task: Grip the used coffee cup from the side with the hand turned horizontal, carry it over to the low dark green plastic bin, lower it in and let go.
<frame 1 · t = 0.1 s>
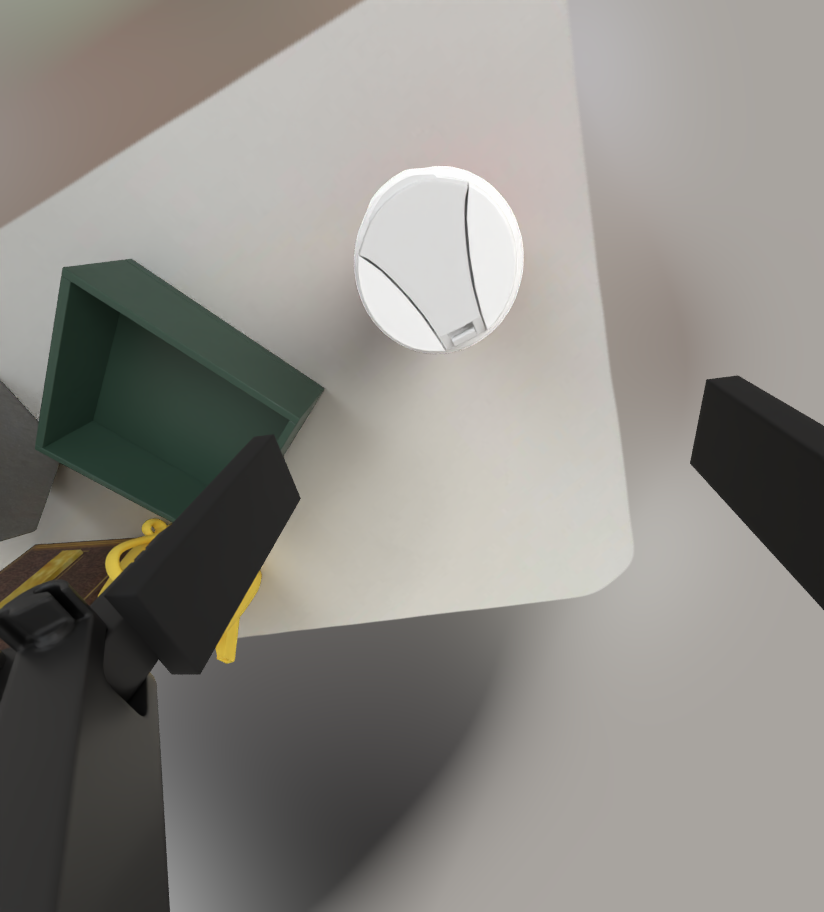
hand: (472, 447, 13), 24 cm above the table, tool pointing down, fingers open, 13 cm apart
coffee cup: (447, 249, 31), on the table
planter: (14, 426, 45), on the table
book: (95, 556, 56), on the table
teapot: (213, 559, 53), on the table
bin: (200, 404, 41), on the table
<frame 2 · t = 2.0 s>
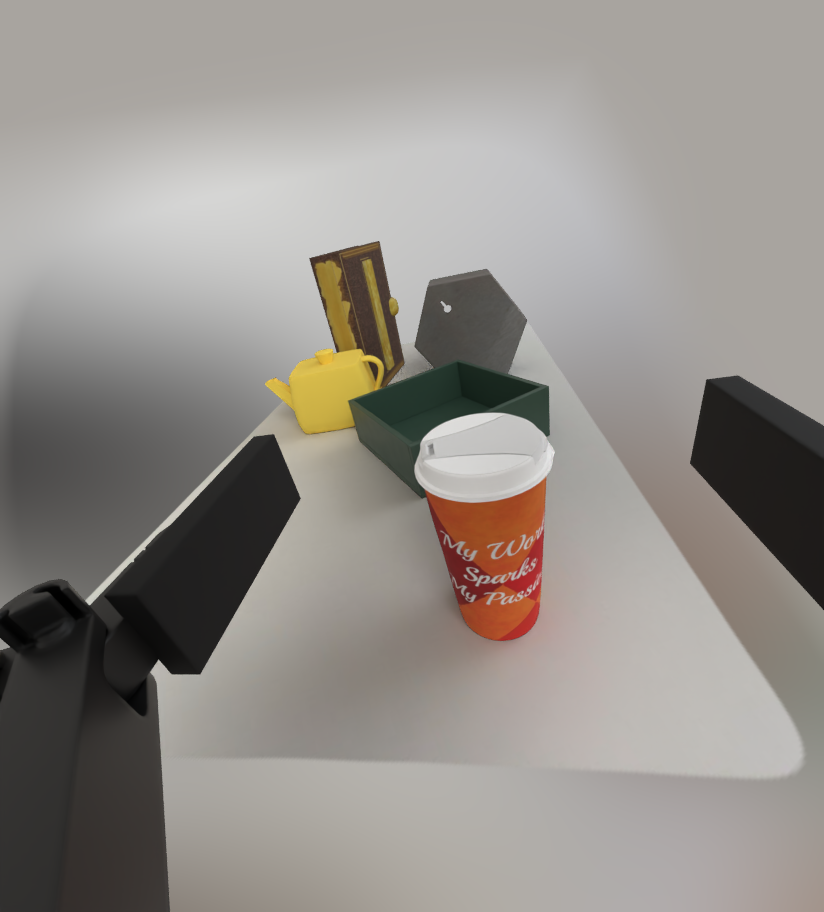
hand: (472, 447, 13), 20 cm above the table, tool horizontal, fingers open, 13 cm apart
coffee cup: (500, 607, 31), on the table
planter: (474, 375, 75), on the table
book: (380, 378, 84), on the table
teapot: (338, 417, 70), on the table
bin: (446, 438, 55), on the table
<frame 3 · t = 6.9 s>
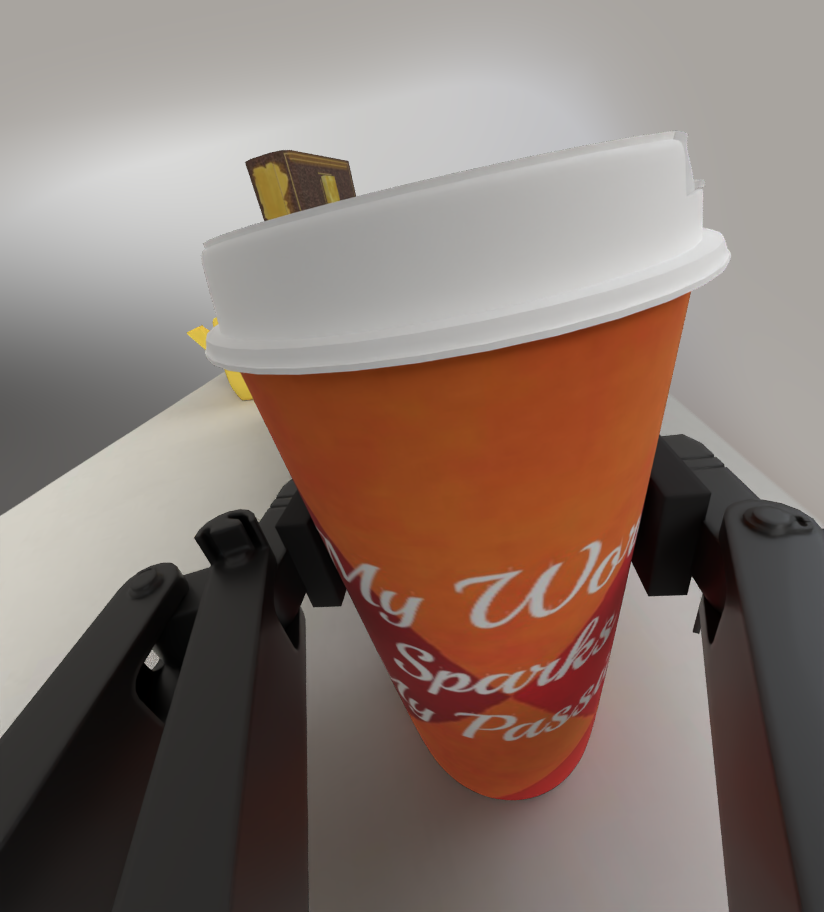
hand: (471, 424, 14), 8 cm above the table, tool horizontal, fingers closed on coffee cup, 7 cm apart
coffee cup: (501, 698, 14), on the table, touching gripper
book: (352, 340, 68), on the table
teapot: (289, 381, 53), on the table
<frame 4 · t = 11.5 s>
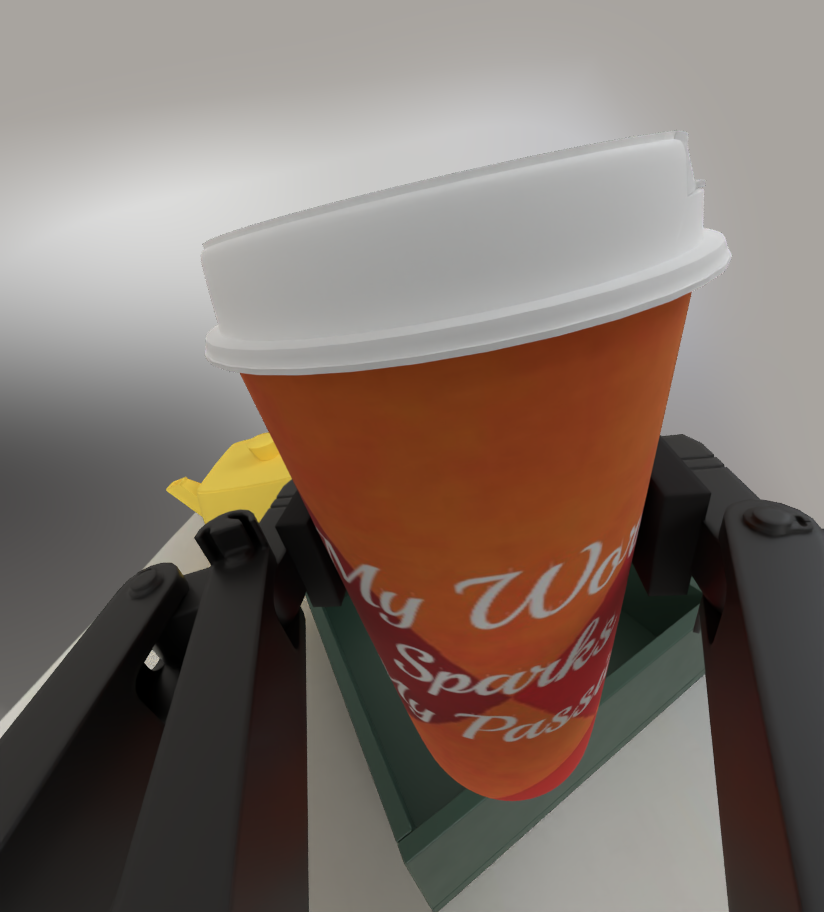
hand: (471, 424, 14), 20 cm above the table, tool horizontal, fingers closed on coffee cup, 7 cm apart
coffee cup: (501, 698, 14), point 11 cm above the table, touching gripper
teapot: (294, 533, 43), on the table
bin: (480, 638, 28), on the table
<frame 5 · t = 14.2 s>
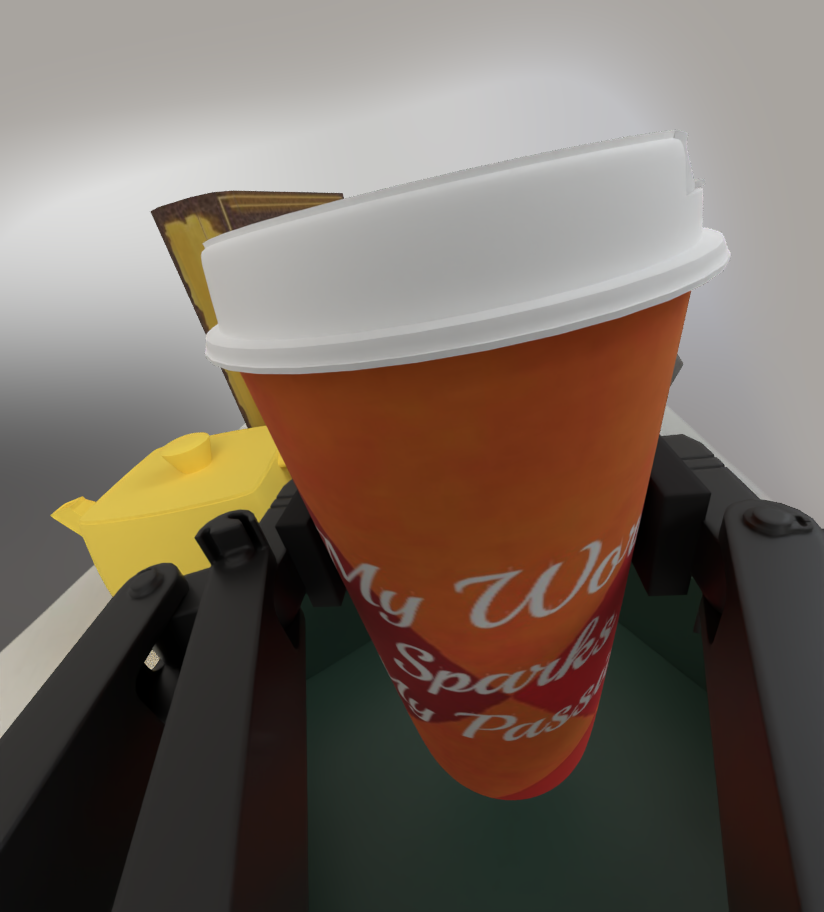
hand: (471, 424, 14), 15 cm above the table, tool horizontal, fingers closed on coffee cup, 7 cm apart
coffee cup: (501, 698, 14), point 6 cm above the table, touching gripper
book: (350, 452, 46), on the table
teapot: (242, 571, 32), on the table
bin: (512, 774, 17), on the table
when the fingers open (9 cm above the table, at t = 16.3 s): coffee cup stays where it is, resting on bin.
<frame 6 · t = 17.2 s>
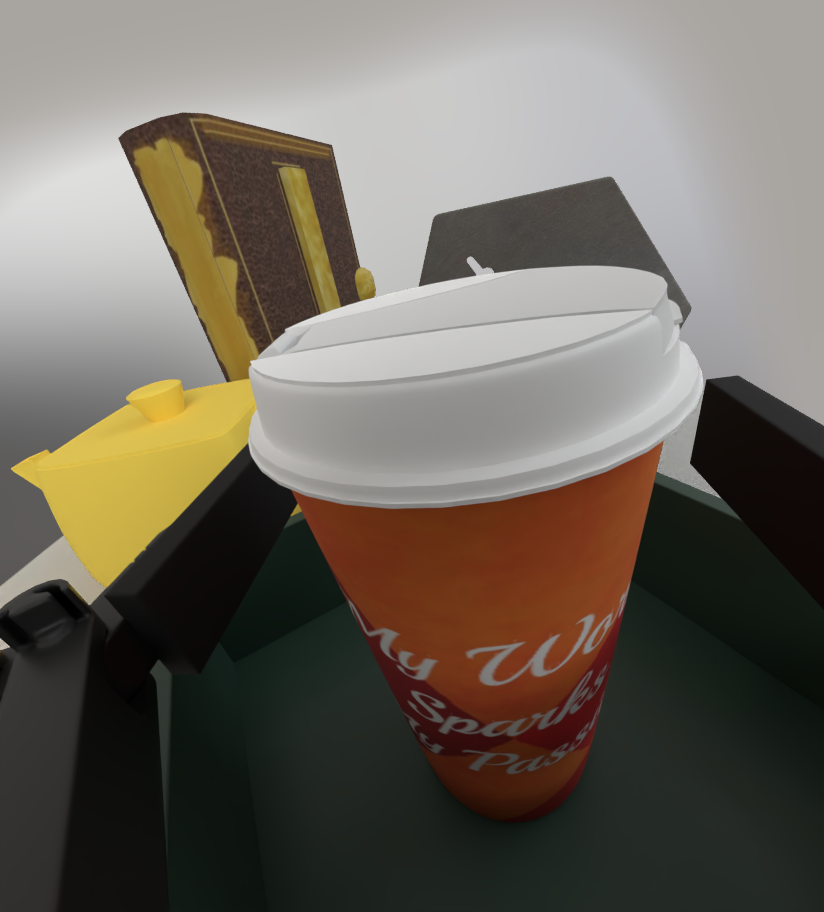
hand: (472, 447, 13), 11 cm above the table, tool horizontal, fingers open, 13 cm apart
coffee cup: (503, 722, 15), point 1 cm above the table, touching bin
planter: (531, 430, 35), on the table
book: (340, 423, 44), on the table
teapot: (221, 535, 30), on the table
bin: (504, 730, 15), on the table
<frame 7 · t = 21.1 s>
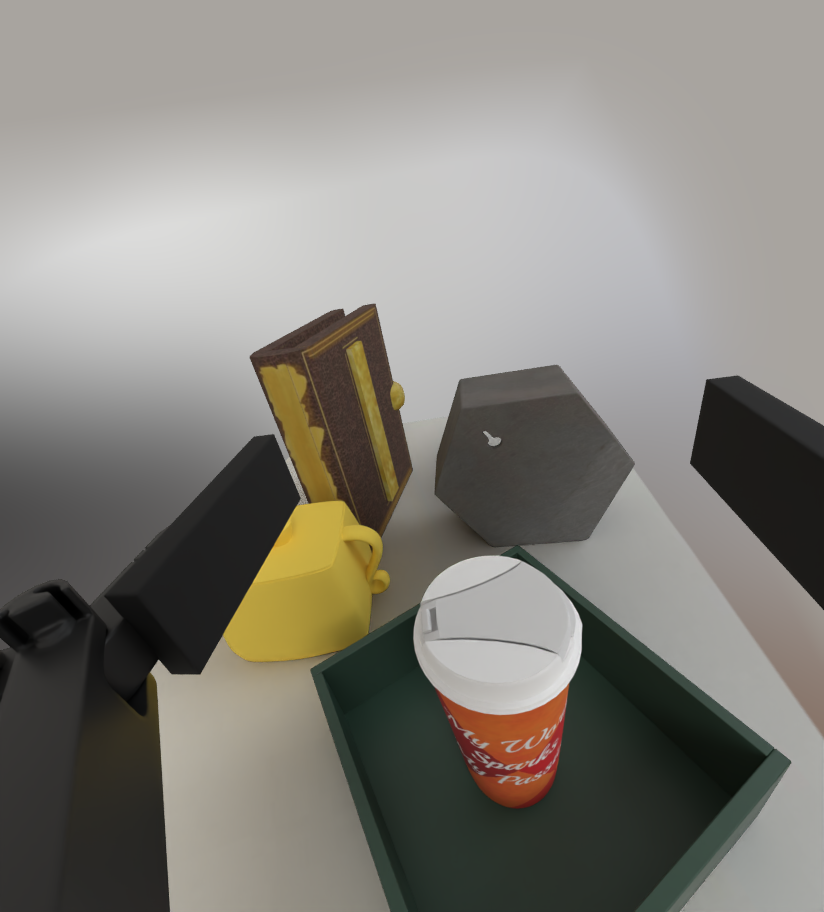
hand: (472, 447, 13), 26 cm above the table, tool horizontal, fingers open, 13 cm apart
coffee cup: (511, 754, 27), point 1 cm above the table, touching bin
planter: (527, 522, 47), on the table
book: (377, 502, 56), on the table
teapot: (306, 610, 42), on the table
bin: (511, 758, 27), on the table
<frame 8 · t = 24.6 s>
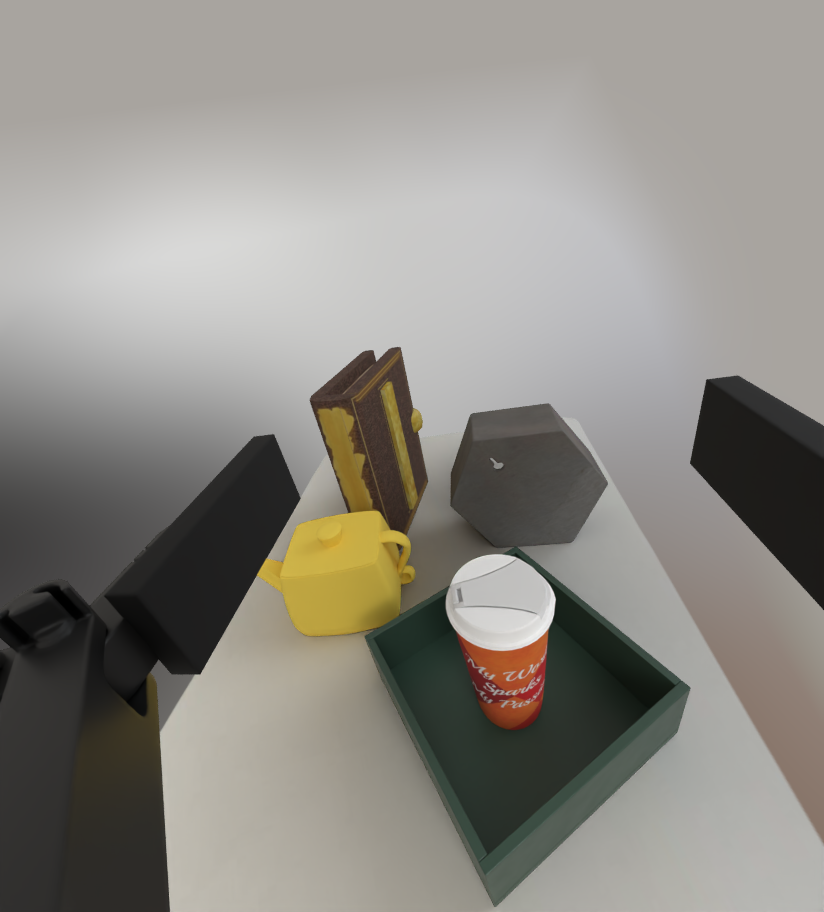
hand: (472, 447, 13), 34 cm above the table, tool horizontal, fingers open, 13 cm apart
coffee cup: (510, 696, 37), point 1 cm above the table, touching bin
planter: (524, 528, 57), on the table
book: (399, 509, 67), on the table
teapot: (347, 597, 52), on the table
bin: (510, 700, 38), on the table
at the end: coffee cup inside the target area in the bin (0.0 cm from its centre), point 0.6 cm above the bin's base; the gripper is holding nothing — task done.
